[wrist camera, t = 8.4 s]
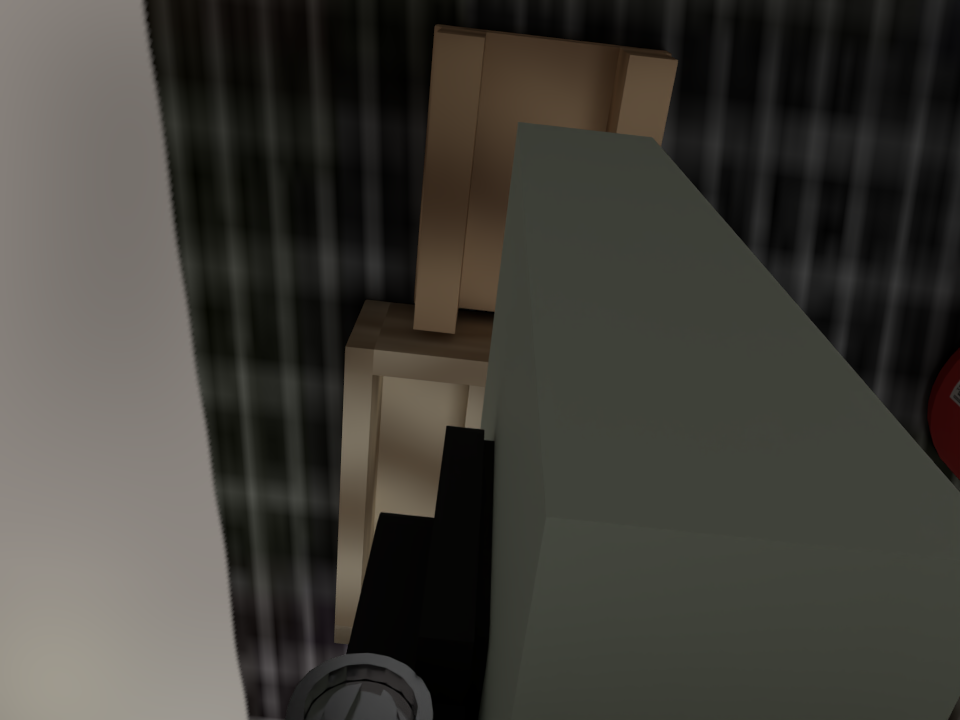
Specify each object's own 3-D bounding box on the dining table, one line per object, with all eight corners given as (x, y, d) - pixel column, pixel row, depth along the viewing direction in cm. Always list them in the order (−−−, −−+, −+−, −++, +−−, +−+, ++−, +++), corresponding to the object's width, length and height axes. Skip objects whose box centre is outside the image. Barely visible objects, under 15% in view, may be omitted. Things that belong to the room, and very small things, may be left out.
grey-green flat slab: (517, 122, 15) (546, 517, 4) (652, 137, 15) (1026, 568, 4) (469, 517, 19) (418, 1252, 8) (576, 529, 19) (667, 1274, 8)
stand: (437, 24, 28) (428, 31, 25) (666, 50, 28) (686, 61, 25) (416, 293, 32) (406, 328, 29) (615, 315, 33) (626, 352, 29)
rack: (365, 299, 33) (345, 346, 29) (637, 329, 33) (655, 380, 29) (352, 572, 39) (334, 642, 35) (581, 596, 39) (590, 669, 35)
